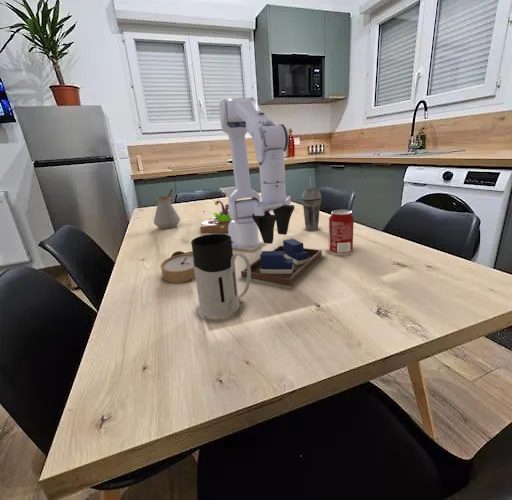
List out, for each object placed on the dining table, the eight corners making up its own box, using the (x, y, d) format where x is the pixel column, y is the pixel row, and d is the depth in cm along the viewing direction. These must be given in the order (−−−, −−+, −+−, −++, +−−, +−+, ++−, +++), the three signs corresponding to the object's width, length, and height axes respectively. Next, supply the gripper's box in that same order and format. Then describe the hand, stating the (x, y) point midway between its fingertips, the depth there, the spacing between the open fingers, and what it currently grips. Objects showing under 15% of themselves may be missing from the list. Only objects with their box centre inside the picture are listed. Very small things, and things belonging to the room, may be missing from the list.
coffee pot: (177, 229, 127) (171, 194, 122) (151, 230, 128) (144, 196, 123) (188, 217, 147) (184, 187, 143) (166, 219, 148) (160, 189, 143)
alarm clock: (153, 273, 74) (172, 244, 87) (158, 289, 76) (175, 259, 89) (197, 272, 72) (209, 243, 85) (200, 288, 75) (212, 257, 88)
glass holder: (222, 295, 66) (214, 230, 62) (270, 315, 57) (265, 241, 52) (189, 311, 61) (178, 241, 56) (236, 337, 51) (227, 256, 46)
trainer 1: (260, 273, 74) (259, 255, 73) (262, 267, 78) (261, 250, 76) (292, 273, 73) (291, 255, 71) (293, 268, 76) (293, 250, 74)
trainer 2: (282, 256, 85) (282, 240, 83) (293, 253, 86) (292, 238, 84) (297, 265, 78) (297, 247, 76) (308, 262, 79) (308, 245, 77)
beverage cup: (324, 227, 113) (324, 173, 107) (317, 232, 108) (317, 176, 101) (306, 225, 117) (305, 174, 111) (298, 230, 112) (297, 176, 105)
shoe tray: (241, 279, 74) (240, 271, 73) (280, 252, 90) (279, 245, 90) (289, 289, 67) (289, 279, 66) (321, 257, 84) (321, 250, 83)
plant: (209, 221, 136) (206, 197, 132) (251, 220, 133) (249, 195, 129) (195, 234, 117) (191, 206, 114) (243, 232, 114) (240, 203, 111)
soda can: (353, 255, 83) (355, 214, 79) (328, 255, 85) (329, 214, 81) (351, 248, 89) (352, 208, 86) (328, 248, 91) (328, 209, 87)
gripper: (273, 186, 60) (276, 249, 65) (301, 177, 72) (302, 231, 76) (244, 186, 64) (249, 246, 68) (275, 178, 75) (278, 229, 80)
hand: (275, 238), depth 72 cm, fingers open, 7 cm apart
